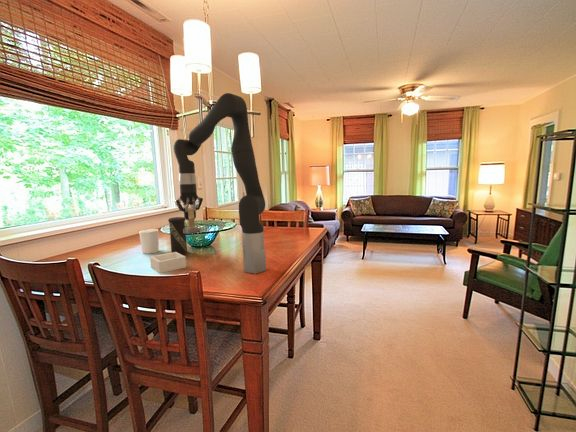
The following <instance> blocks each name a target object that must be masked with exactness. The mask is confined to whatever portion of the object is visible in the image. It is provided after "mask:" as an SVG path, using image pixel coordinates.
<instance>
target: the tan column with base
mask: <svg viewBox="0 0 576 432" xmlns="http://www.w3.org/2000/svg"><path fill="white" fill-rule="evenodd" d="M188 217H189V220H186V225H187V228H186V227H185V229H183V233H185V234H187V235H191V234H197V233H198V234H200V233H201V228H200V227H197V226H196V223H195V220H196V219H194V209H193V208H191V207H188Z"/></svg>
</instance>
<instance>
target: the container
mask: <svg viewBox="0 0 576 432" xmlns="http://www.w3.org/2000/svg"><path fill="white" fill-rule="evenodd" d="M167 221H168V224H169V236H170V237H169V238H170V251H171V252H170V253H172V252H177V253H179V254H181V255H183V256H185V255H187V254H188V247H187V246H188V245H187V244H188V243H187V235H186V234H185V233H183V229H186V223H185V221H186V219H185V218H184V216H175V217H169V218H168V219H167Z"/></svg>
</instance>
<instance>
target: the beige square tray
mask: <svg viewBox="0 0 576 432" xmlns="http://www.w3.org/2000/svg"><path fill="white" fill-rule="evenodd" d="M149 260H150V261H149V262H150V268H151V269H153V270H155V271H156V272H158V273H159V274H162V273H165V272H166V273H167V272H171V271H175V270H179V269H184V268H187V256H185V255H181V254H179V253H177V252H172V253H171V252H169V253H168V252H167V253H163V254H157V255H151V256H149Z"/></svg>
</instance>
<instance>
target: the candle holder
mask: <svg viewBox="0 0 576 432" xmlns="http://www.w3.org/2000/svg"><path fill="white" fill-rule="evenodd" d="M138 233H139V240H140V246H141V252H142V254H155V253H158V252H159V251H160V250H159V249H160V248H159V247H160V246H159V244H160V243H159V240H160V239H159V229H157V228H149V229H143V230H140V231H138Z"/></svg>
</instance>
